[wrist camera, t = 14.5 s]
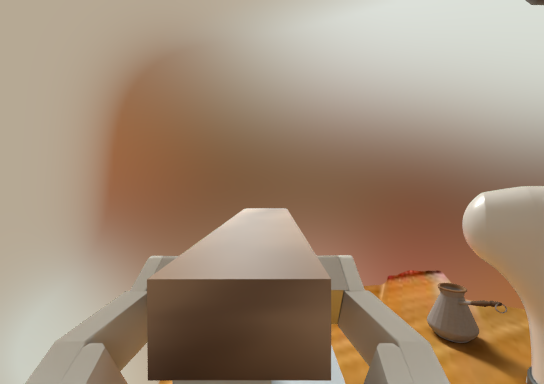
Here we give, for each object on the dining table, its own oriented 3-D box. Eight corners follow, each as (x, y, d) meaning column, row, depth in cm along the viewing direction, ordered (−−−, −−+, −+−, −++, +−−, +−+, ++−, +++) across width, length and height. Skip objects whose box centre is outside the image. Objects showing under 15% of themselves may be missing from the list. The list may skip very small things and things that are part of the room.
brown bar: (286, 231, 28) (286, 208, 28) (331, 380, 6) (331, 279, 6) (245, 231, 28) (244, 208, 28) (147, 380, 6) (146, 279, 6)
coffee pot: (418, 323, 76) (418, 272, 76) (458, 324, 76) (458, 272, 76) (474, 376, 54) (474, 303, 54) (530, 376, 54) (530, 304, 54)
